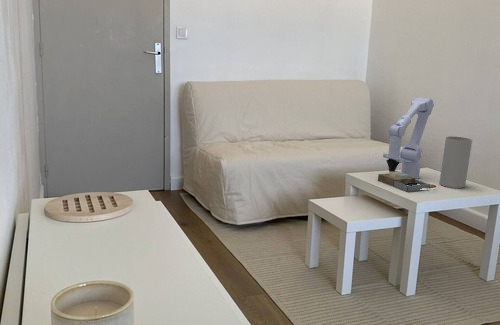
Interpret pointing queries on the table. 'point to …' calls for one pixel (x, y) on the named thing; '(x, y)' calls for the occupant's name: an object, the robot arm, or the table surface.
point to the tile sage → (401, 176)
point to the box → (411, 188)
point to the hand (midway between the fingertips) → (391, 173)
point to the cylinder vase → (455, 162)
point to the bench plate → (394, 179)
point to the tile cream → (393, 173)
